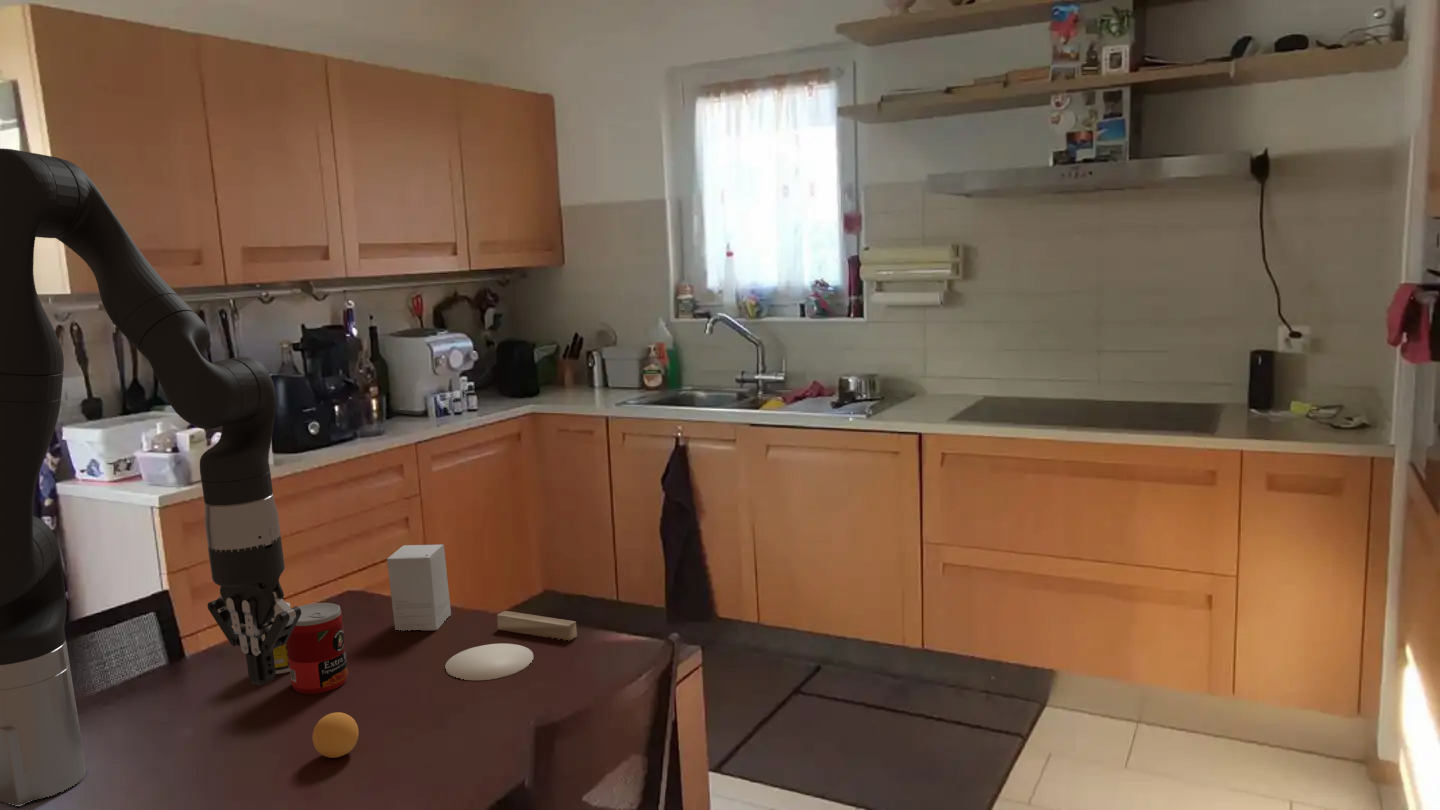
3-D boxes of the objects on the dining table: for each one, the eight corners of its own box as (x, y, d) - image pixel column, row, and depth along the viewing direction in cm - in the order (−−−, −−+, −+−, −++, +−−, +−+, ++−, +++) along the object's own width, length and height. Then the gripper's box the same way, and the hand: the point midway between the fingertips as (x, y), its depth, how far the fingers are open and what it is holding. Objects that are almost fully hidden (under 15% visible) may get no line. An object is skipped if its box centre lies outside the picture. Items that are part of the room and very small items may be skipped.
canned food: (330, 696, 147) (322, 622, 145) (280, 693, 149) (271, 620, 147) (359, 673, 155) (351, 602, 153) (311, 671, 156) (302, 601, 154)
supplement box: (452, 614, 177) (445, 543, 175) (436, 631, 170) (429, 557, 168) (410, 615, 178) (403, 543, 176) (393, 631, 171) (385, 557, 169)
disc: (497, 686, 148) (497, 684, 148) (426, 672, 154) (426, 671, 154) (550, 651, 160) (550, 650, 160) (482, 640, 165) (482, 638, 165)
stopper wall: (569, 641, 163) (568, 625, 163) (498, 629, 170) (496, 614, 169) (576, 636, 165) (575, 621, 165) (505, 625, 171) (504, 610, 171)
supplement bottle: (292, 674, 155) (285, 612, 154) (256, 676, 155) (249, 613, 154) (307, 659, 161) (300, 599, 159) (272, 661, 161) (265, 600, 159)
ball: (337, 769, 127) (332, 728, 126) (305, 761, 129) (300, 720, 128) (370, 748, 131) (365, 708, 131) (338, 741, 134) (334, 701, 133)
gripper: (174, 541, 116) (195, 686, 119) (258, 552, 111) (278, 704, 113) (231, 522, 123) (250, 661, 126) (313, 532, 117) (330, 677, 120)
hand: (263, 681), depth 120 cm, fingers closed
